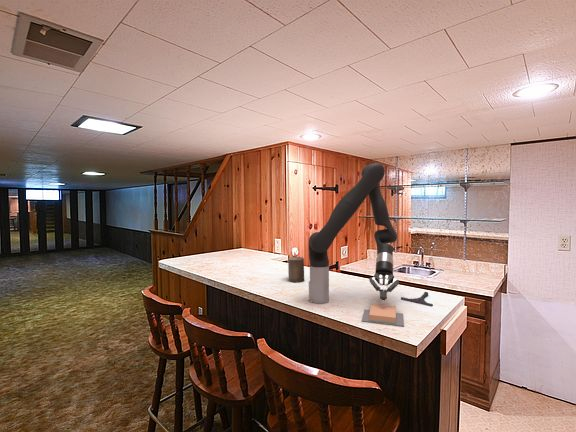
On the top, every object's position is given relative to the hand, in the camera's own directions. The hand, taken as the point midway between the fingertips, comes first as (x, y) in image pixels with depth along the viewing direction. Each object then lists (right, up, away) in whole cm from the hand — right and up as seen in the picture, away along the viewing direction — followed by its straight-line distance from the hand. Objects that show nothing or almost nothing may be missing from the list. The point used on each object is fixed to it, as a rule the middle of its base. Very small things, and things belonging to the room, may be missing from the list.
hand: (383, 299), depth 127 cm
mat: (-1, -7, -2) cm, 7 cm away
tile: (+2, -5, +4) cm, 7 cm away
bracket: (+25, -6, +20) cm, 33 cm away
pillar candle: (-35, -4, +56) cm, 67 cm away
